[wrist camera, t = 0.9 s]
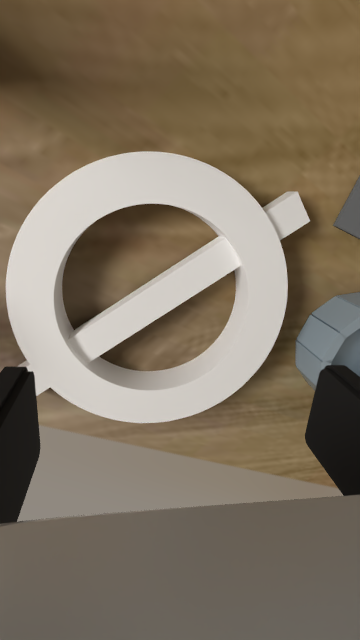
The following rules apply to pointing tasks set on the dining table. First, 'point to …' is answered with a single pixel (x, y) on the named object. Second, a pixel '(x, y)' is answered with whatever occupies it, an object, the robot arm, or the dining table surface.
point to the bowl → (330, 338)
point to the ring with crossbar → (150, 287)
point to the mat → (351, 213)
